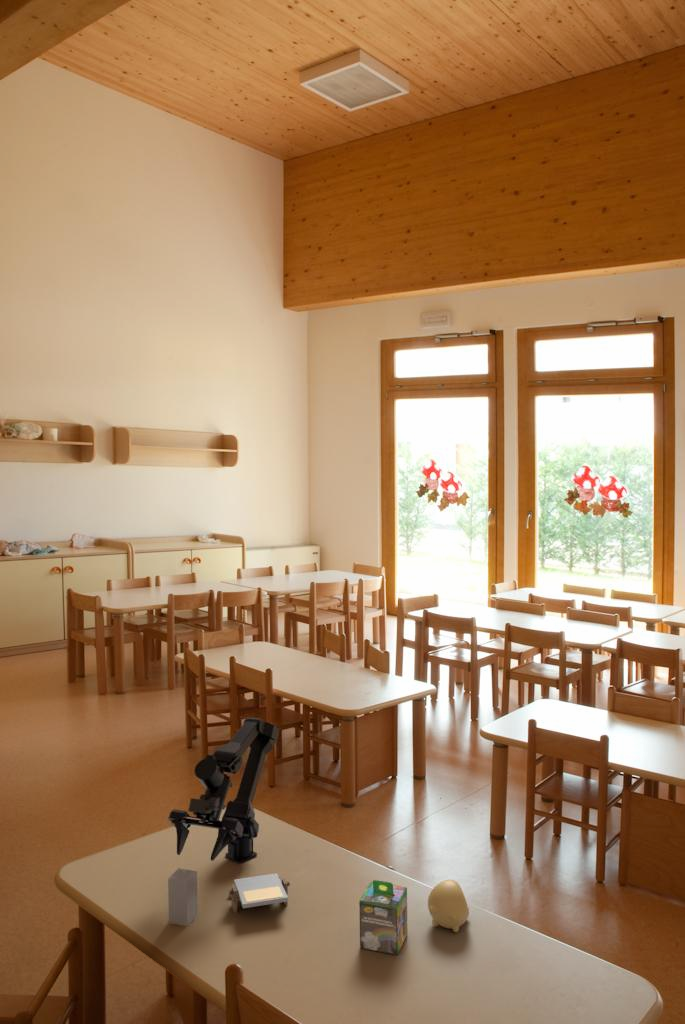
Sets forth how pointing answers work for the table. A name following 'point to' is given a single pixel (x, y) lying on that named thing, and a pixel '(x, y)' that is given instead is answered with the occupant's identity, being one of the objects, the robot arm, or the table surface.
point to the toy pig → (448, 905)
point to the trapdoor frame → (234, 895)
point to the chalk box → (383, 917)
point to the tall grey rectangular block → (182, 896)
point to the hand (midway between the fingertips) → (194, 857)
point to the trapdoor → (260, 890)
